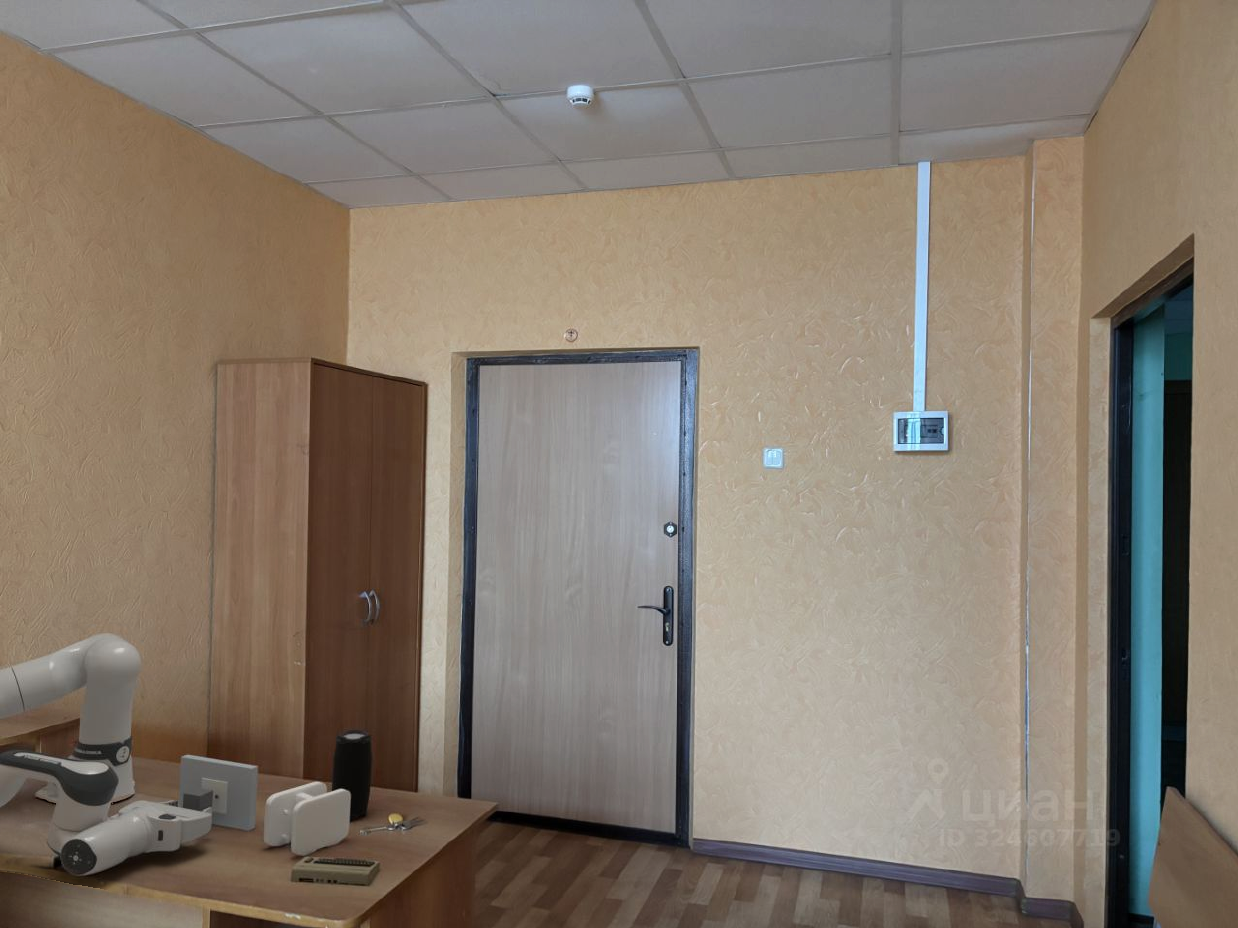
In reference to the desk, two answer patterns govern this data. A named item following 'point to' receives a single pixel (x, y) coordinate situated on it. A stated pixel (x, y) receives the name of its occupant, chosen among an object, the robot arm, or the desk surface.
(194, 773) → the outlet plate
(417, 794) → the desk surface
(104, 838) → the robot arm
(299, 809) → the organizer
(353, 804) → the portable speaker
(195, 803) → the block
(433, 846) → the desk surface
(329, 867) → the computer
